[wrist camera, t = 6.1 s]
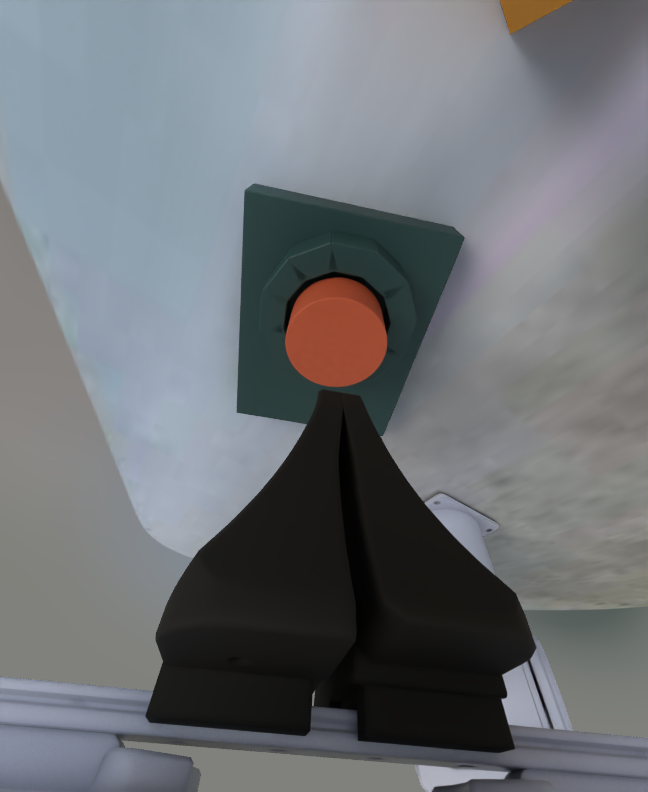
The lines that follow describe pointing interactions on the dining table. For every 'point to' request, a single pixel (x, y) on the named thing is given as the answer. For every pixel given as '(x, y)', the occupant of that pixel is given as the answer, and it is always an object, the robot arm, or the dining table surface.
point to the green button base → (326, 258)
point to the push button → (336, 333)
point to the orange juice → (527, 11)
